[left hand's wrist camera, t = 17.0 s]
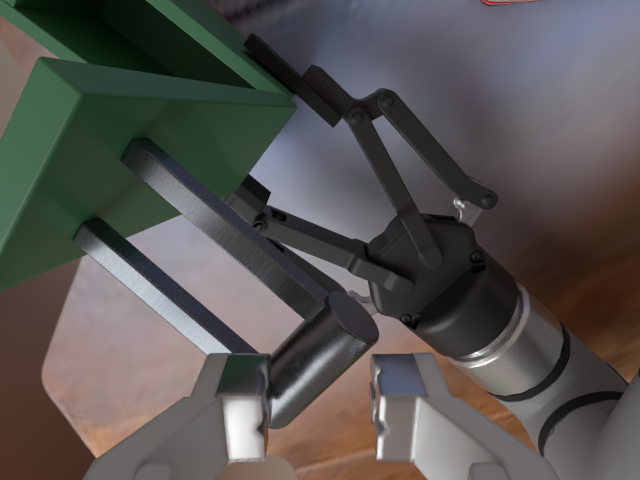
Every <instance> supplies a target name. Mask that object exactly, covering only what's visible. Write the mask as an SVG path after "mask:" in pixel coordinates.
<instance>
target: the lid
mask: <svg viewBox="0 0 640 480" xmlns="http://www.w3.org/2000/svg"><path fill="white" fill-rule="evenodd" d="M296 109H297V105H295V104H294V103H293V102H292V101H291V100H290V99H289V98H287V97H286V96H285V95H284V94H282V93H275V92H269V91H262V90H256V89H249V88H243V87H236V86H230V85H224V84H217V83H211V82H204V81H198V80H191V79H185V78H178V77H172V76H165V75H159V74H152V73H146V72H139V71H133V70H127V69H120V68H114V67H107V66H101V65H94V64H88V63H81V62H75V61H68V60H62V59H55V58H49V57H39V58H38V59H37V61H36V64H35V66H34V68H33V70H32V72H31V75H30V77H29V79H28V81H27V83H26V86H25V88H24V90H23V92H22V94H21V97H20V99H19V101H18V103H17V105H16V108H15V110H14V112H13V114H12V116H11V119H10V121H9V123H8V125H7V127H6V129H5V132H4V134H3V136H2V138H1V140H0V291H3V290H5V289H7V288H10V287H12V286H14V285H17V284H19V283H21V282H24V281H26V280H29V279H31V278H33V277H36V276H38V275H40V274H43V273H45V272H47V271H50V270H52V269H54V268H57V267H59V266H61V265H64V264H66V263H68V262H71V261H73V260H75V259H78V258H80V257H82V256H85V255H87V254H88V255H90V256H91V257H92V258H93V259H94V260H95V261H97V262H98V263H99V264H100V265H101V266H102V267H104V268H105V269H106V270H107V271H108V272H110V273H111V274H112V275H113V276H114V277H115V278H117V279H118V280H119V281H120V282H121V283H122V284H124V285H125V286H126V287H127V288H128V289H129V290H131V291H132V292H133V293H134V294H135V295H137V296H138V297H139V298H140V299H141V300H142V301H144V302H145V303H146V304H147V305H148V306H149V307H151V308H152V309H153V310H154V311H155V312H156V313H158V314H159V315H160V316H161V317H162V318H164V319H165V320H166V321H167V322H168V323H169V324H171V325H172V326H173V327H174V328H175V329H176V330H178V331H179V332H180V333H181V334H182V335H183V336H185V337H186V338H187V339H188V340H189V341H191V342H192V343H193V344H194V345H195V346H196V347H198V348H199V349H200V350H201V351H202V352H203V353H205V354H206V355H208V354H210V353H258V352H257V351H256V350H255V349H254V348H252V347H251V346H250V345H249V344H248V343H247V342H245V341H244V340H243V339H242V338H241V337H240V336H238V335H237V334H236V333H235V332H234V331H233V330H231V329H230V328H229V327H228V326H227V325H226V324H224V323H223V322H222V321H221V320H220V319H219V318H217V317H216V316H215V315H214V314H213V313H211V312H210V311H209V310H208V309H207V308H206V307H204V306H203V305H202V304H201V303H200V302H199V301H197V300H196V299H195V298H194V297H193V296H192V295H190V294H189V293H188V292H187V291H186V290H185V289H183V288H182V287H181V286H180V285H179V284H178V283H176V282H175V281H174V280H173V279H172V278H171V277H169V276H168V275H167V274H166V273H165V272H164V271H162V270H161V269H160V268H159V267H158V266H157V265H155V264H154V263H153V262H152V261H151V260H149V259H148V258H147V257H146V256H145V255H144V254H142V253H141V252H140V251H139V250H138V249H137V248H135V247H134V246H133V245H132V244H131V243H130V242H128V241H127V240H126V239H125V238H127V237H129V236H132V235H134V234H136V233H139V232H141V231H143V230H146V229H148V228H151V227H153V226H155V225H158V224H160V223H162V222H165V221H167V220H169V219H172V218H174V217H176V216H179V215H181V214H183V215H184V216H185V217H186V218H187V219H188V220H189V221H191V222H192V223H193V224H194V225H195V226H196V227H198V228H199V229H200V230H201V231H202V232H203V233H205V234H206V235H207V236H208V237H209V238H210V239H212V240H213V241H214V242H215V243H216V244H217V245H219V246H220V247H221V248H222V249H223V250H224V251H226V252H227V253H228V254H229V255H230V256H231V257H233V258H234V259H235V260H236V261H237V262H238V263H239V264H241V265H242V266H243V267H244V268H245V269H246V270H248V271H249V272H250V273H251V274H252V275H253V276H255V277H256V278H257V279H258V280H259V281H260V282H262V283H263V284H264V285H265V286H266V287H267V288H269V289H270V290H271V291H272V292H273V293H274V294H276V295H277V296H278V297H279V298H280V299H281V300H283V301H284V302H285V303H286V304H287V305H288V306H289V307H291V308H292V309H293V310H294V311H295V312H296V313H298V314H299V315H300V316H301V317H302V318H303V319H305V320H304V321H303V322H302V323H301V324H300V325H299V326H298V327H297V328H296V329H295V330H294V331H293V332H292V333H291V334H290V336H289V337H288V338H287V339H286V340H285V341H284V342H283V343H282V344H281V345H280V346H279V347H278V348H277V349H276V350H275V351H274V352H273V353H272V354H271V355H270V356H271V375H270V381H271V382H272V390H273V402H272V415H271V423H270V424H269V425H268V428H271V429H280V428H284V427H286V426H287V425H288V424H289V423H290V422H291V421H293V420H294V419H295V418H296V417H297V416H298V415H299V414H300V413H301V412H302V411H303V410H304V409H305V408H306V407H308V406H309V405H310V404H311V403H312V402H313V401H314V400H315V399H316V398H317V397H318V396H319V395H320V394H322V393H323V392H324V391H325V390H326V389H327V388H328V387H329V386H330V385H331V384H332V383H333V382H334V381H336V380H337V379H338V378H339V377H340V376H341V375H342V374H343V373H344V372H345V371H346V370H347V369H348V368H350V367H351V366H352V365H353V364H354V363H355V362H356V361H357V360H358V359H359V358H360V357H361V356H362V355H364V354H365V353H366V352H367V351H368V350H369V349H370V348H371V347H372V346H373V345H374V344H375V343H376V342H377V341H378V338H379V331H378V328H377V325H376V323H375V321H374V320H373V318H372V317H371V315H370V314H369V313H368V311H367V310H366V309H365V308H364V307H363V306H362V305H361V304H360V303H359V302H358V301H356V300H355V299H354V298H352V297H351V296H349V295H347V294H345V293H343V292H339V291H334V292H332V293H330V294H329V293H328V292H327V291H326V290H325V289H324V288H322V287H321V286H320V285H319V284H318V283H317V282H316V281H314V280H313V279H312V278H311V277H310V276H309V275H307V274H306V273H305V272H304V271H303V270H302V269H300V268H299V267H298V266H297V265H296V264H295V263H294V262H292V261H291V260H290V259H289V258H288V257H287V256H285V255H284V254H283V253H282V252H281V251H280V250H278V249H277V248H276V247H275V246H274V245H273V244H272V243H270V242H269V241H268V240H267V239H266V238H265V237H263V236H262V235H261V234H260V233H259V232H258V231H256V230H255V229H254V228H253V227H252V226H251V225H249V224H248V223H247V222H246V221H245V220H244V219H243V218H241V217H240V216H239V215H238V214H237V213H236V212H234V211H233V210H232V209H231V208H230V207H229V206H227V205H226V204H225V203H224V202H223V201H222V200H221V199H219V198H221V197H223V196H226V195H228V194H230V193H233V192H235V191H236V190H237V188H238V187H239V186H240V184H241V183H242V182H243V180H244V179H245V178H246V176H247V175H248V174H249V172H250V171H251V170H252V168H253V167H254V165H255V164H256V163H257V161H258V160H259V159H260V157H261V156H262V155H263V153H264V152H265V151H266V149H267V148H268V147H269V145H270V144H271V143H272V141H273V140H274V138H275V137H276V136H277V134H278V133H279V132H280V130H281V129H282V128H283V126H284V125H285V124H286V122H287V121H288V120H289V118H290V117H291V116H292V114H293V113H294V111H295V110H296Z"/></svg>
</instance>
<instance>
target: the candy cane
mask: <svg viewBox="0 0 640 480" xmlns="http://www.w3.org/2000/svg"><path fill="white" fill-rule="evenodd" d="M532 1H541V0H481V2H482V4H484V5H485V6H497V5H506V4H515V3H524V2H532Z"/></svg>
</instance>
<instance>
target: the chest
mask: <svg viewBox="0 0 640 480" xmlns="http://www.w3.org/2000/svg"><path fill="white" fill-rule="evenodd" d="M0 16H2V17H3V18H5V19H6V20H7V21H9V22H10V23H11V24H13V25H14V26H16V27H17V28H18V29H20V30H21V31H22V32H24V33H25V34H27V35H28V36H29V37H31V38H32V39H33V40H35V41H36V42H38V43H39V44H40V45H42V46H43V47H45V48H46V49H47V50H49V51H50V52H51V53H53V54H54V55H56V56H57V57H58V58H60V59H62V60H68V61H75V62H81V63H88V64H94V65H101V66H107V67H114V68H120V69H127V70H133V71H139V72H146V73H152V74H159V75H165V76H172V77H178V78H185V79H191V80H198V81H204V82H211V83H217V84H224V85H230V86H236V87H243V88H249V89H256V90H262V91H269V92H275V93H282V94H284V95H285V96H286V97H287V98H289V99H290V100H291V99H292V98H293V97H294V95H295V94H296V93H295V92H294V91H292V90H291V89H290V88H289V87H288V86H287V85H286V84H285V83H284V82H283V81H282V80H280V79H279V78H278V77H277V76H276V75H275V74H274V73H273V72H272V71H271V70H270V69H268V68H267V67H266V66H265V65H264V64H263V63H262V62H261V61H260V60H259V59H258V58H257V57H255V56H254V55H253V54H252V53H251V52H250V51H249V50H248V49H247V48H246V47H245V46H243V44H244V43H245V41H246V40H247V39H248V37H247V36H246V35H245V34H244V33H243V32H241V31H240V30H239V29H238V28H237V27H235V26H234V25H233V24H232V23H231V22H229V21H228V20H227V19H226V18H225V17H223V16H222V15H221V14H220V13H219V12H217V11H216V10H215V9H214V8H213V7H211V6H210V5H209V4H208V3H207V2H205V1H204V0H0Z"/></svg>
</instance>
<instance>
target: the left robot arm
mask: <svg viewBox="0 0 640 480" xmlns="http://www.w3.org/2000/svg"><path fill="white" fill-rule="evenodd" d="M370 371H371V377H372V381H371V382H370V383H369V409H370V418H371V423H372V424H373V425H374V435H373V438H374V445H375V451H376V457H377V461H399V462H414V464H415V465H416V466H417V468H418V469H419V470H420V471H421V472H422V473H423V475H424V476H425V477H426V478H427V479H428V480H560V479H559V477H558V475H557V474H556V472H555V470H554V469H553V467H552V465H551V464H550V462H549V461H548V460H547V459H545V458H544V457H542V456H541V455H539V454H538V453H537V452H535V451H534V450H532V449H531V448H530V447H528V446H527V445H525V444H524V443H522V442H521V441H520V440H518V439H517V438H515V437H514V436H513V435H511V434H510V433H508V432H507V431H505V430H504V429H503V428H501V427H500V426H498V425H497V424H496V423H494V422H493V421H491V420H490V419H488V418H487V417H486V416H484V415H483V414H481V413H480V412H479V411H477V410H476V409H474V408H473V407H472V406H470V405H469V404H467V403H466V402H464V401H463V400H462V399H460V398H459V397H452V396H451V393H450V391H449V389H448V386H447V384H446V382H445V379H444V377H443V374H442V372H441V370H440V367H439V365H438V363H437V360H436V358H435V356H434V354H433V353H411V354H371V362H370ZM270 375H271V356H270V354H260V353H210V354H208V355H207V357H206V359H205V362H204V364H203V367H202V369H201V371H200V374H199V376H198V379H197V381H196V383H195V386H194V388H193V391H192V393H191V396H190V397H183V398H182V399H180V400H179V401H178V402H176V403H175V404H173V405H172V406H171V407H169V408H168V409H166V410H165V411H163V412H162V413H161V414H159V415H158V416H156V417H155V418H154V419H152V420H151V421H149V422H148V423H146V424H145V425H144V426H142V427H141V428H139V429H138V430H137V431H135V432H134V433H132V434H131V435H130V436H128V437H127V438H125V439H124V440H122V441H121V442H120V443H118V444H117V445H115V446H114V447H113V448H111V449H110V450H108V451H107V452H105V453H104V454H103V455H101V456H100V457H98V458H97V459H96V460H94V461H93V463H92V465H91V466H90V468H89V470H88V471H87V473H86V475H85V476H84V478H83V480H214V479H215V478H216V477H217V476H218V475H219V474H220V472H221V471H222V470H223V469H224V468H225V467H226V465H227V462H241V461H265V456H266V450H267V443H268V425H269V424H270V423H271V415H272V402H273V390H272V382H271V381H270Z"/></svg>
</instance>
